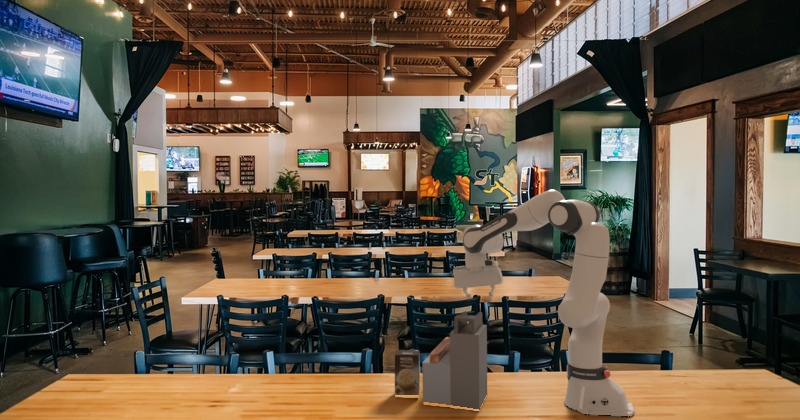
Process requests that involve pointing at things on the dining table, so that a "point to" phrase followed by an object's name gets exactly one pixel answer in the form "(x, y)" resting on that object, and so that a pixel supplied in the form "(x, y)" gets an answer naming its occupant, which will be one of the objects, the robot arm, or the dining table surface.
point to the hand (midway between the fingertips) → (479, 297)
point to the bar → (440, 351)
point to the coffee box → (407, 372)
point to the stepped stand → (459, 366)
